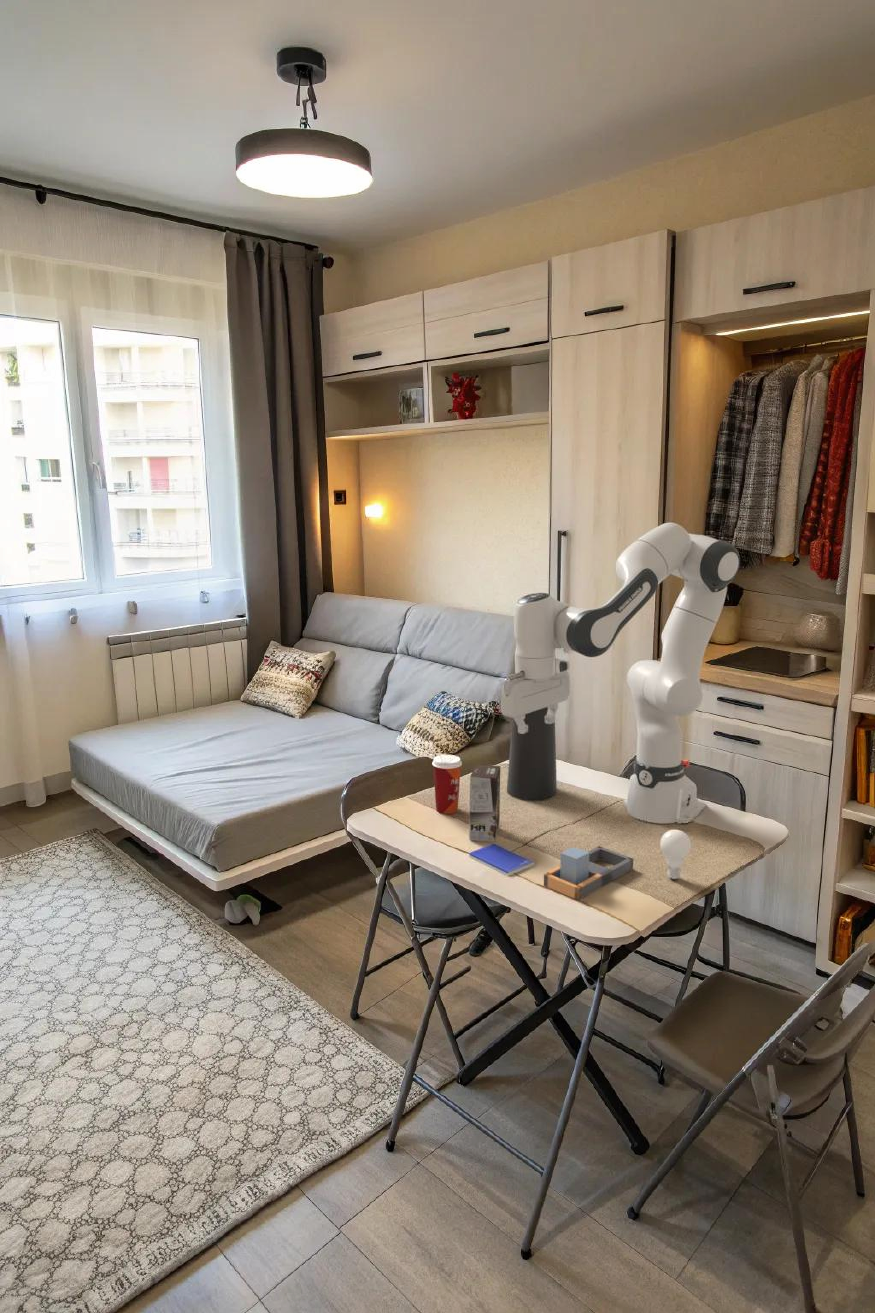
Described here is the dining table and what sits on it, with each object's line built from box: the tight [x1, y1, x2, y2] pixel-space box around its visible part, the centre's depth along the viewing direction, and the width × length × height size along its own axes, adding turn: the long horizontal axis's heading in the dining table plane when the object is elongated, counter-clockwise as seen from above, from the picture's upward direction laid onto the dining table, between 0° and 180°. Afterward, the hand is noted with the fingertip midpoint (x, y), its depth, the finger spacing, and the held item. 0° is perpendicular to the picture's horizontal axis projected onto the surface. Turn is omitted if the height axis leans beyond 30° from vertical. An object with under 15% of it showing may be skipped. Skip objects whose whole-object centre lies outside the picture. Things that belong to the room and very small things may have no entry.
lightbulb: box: [659, 829, 692, 880], centre depth 178 cm, size 6×6×11 cm
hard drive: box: [468, 843, 535, 877], centre depth 187 cm, size 2×8×12 cm
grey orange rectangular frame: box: [543, 846, 634, 901], centre depth 179 cm, size 20×9×3 cm, turn 134°
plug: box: [559, 846, 589, 886], centre depth 175 cm, size 4×4×8 cm
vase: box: [506, 707, 558, 802], centre depth 226 cm, size 14×14×29 cm
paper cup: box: [431, 754, 463, 815], centre depth 215 cm, size 8×8×14 cm
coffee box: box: [468, 764, 501, 843], centre depth 200 cm, size 9×6×16 cm
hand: (536, 728), depth 186 cm, fingers open, 8 cm apart
